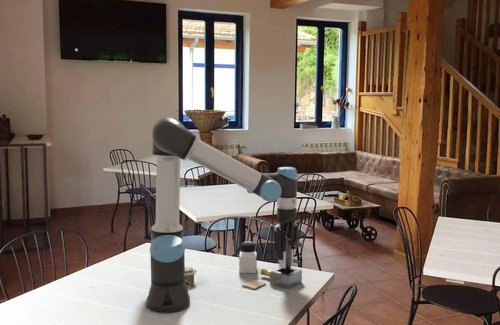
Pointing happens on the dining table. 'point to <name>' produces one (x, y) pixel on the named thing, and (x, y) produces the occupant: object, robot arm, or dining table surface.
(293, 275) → the block
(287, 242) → the chuck key
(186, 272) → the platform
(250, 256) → the medicine bottle
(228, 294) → the dining table surface
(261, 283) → the copper plate
